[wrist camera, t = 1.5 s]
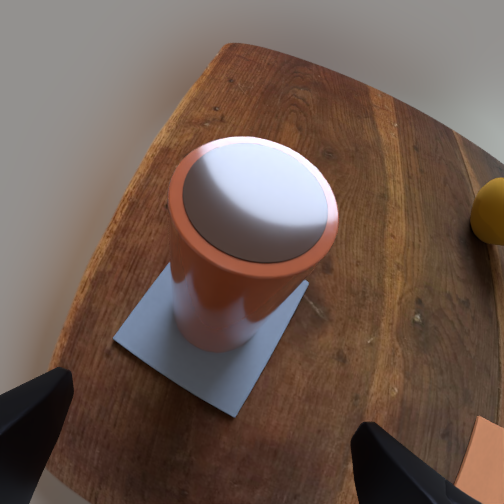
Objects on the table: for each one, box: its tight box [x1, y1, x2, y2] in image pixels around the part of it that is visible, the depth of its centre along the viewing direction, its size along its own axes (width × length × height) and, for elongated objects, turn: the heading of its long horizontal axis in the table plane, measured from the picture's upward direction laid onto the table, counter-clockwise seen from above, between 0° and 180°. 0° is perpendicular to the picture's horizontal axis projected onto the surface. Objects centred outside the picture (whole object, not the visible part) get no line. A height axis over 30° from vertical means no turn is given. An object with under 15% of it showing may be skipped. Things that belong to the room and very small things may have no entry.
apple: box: [470, 178, 504, 245], centre depth 31 cm, size 8×8×9 cm
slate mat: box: [113, 262, 309, 418], centre depth 23 cm, size 12×10×1 cm
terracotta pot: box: [168, 136, 339, 353], centre depth 17 cm, size 6×6×14 cm
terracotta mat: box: [454, 416, 504, 504], centre depth 18 cm, size 14×12×1 cm
